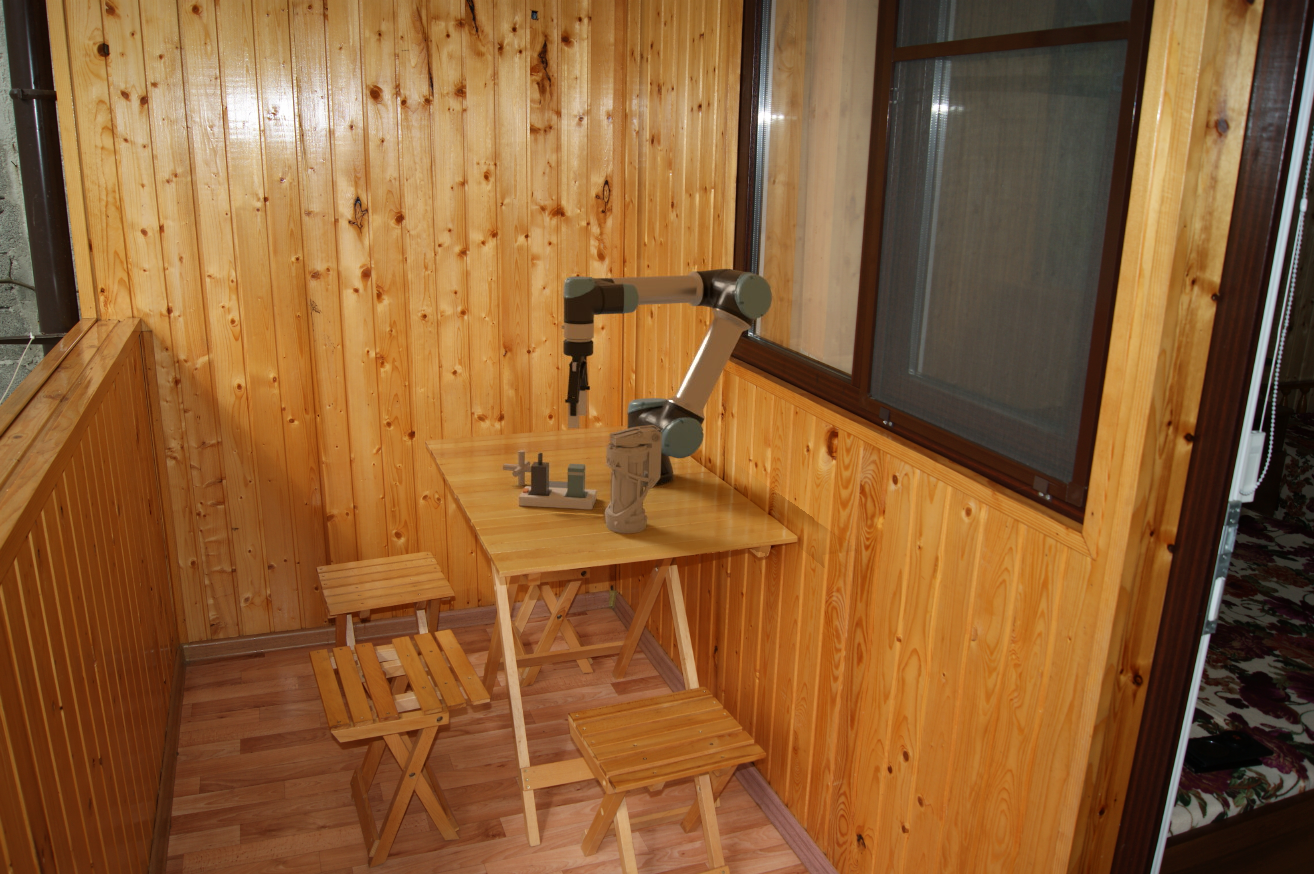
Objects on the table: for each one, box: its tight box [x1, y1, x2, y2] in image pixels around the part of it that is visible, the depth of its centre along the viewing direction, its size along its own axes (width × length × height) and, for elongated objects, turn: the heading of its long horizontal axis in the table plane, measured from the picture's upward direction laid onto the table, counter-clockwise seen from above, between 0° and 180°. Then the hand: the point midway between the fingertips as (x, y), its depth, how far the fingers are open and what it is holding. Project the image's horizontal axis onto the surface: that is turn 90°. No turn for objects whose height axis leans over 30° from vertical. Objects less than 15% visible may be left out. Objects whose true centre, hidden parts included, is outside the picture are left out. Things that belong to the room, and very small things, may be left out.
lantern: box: [604, 425, 662, 534], centre depth 254 cm, size 13×10×25 cm
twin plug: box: [530, 452, 550, 496], centre depth 270 cm, size 4×4×13 cm
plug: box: [566, 463, 586, 498], centre depth 270 cm, size 4×4×10 cm
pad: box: [549, 480, 568, 488], centre depth 284 cm, size 10×10×1 cm
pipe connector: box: [502, 449, 532, 486], centre depth 284 cm, size 10×10×10 cm
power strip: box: [518, 485, 598, 511], centre depth 271 cm, size 19×9×4 cm, turn 86°
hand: (577, 421), depth 266 cm, fingers open, 13 cm apart
